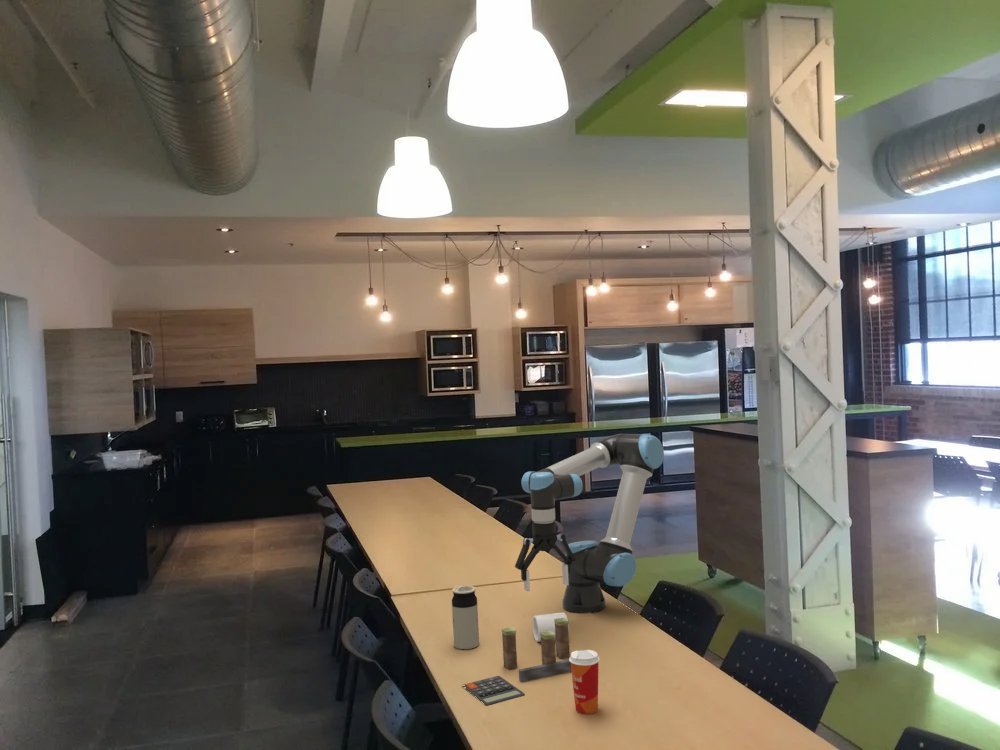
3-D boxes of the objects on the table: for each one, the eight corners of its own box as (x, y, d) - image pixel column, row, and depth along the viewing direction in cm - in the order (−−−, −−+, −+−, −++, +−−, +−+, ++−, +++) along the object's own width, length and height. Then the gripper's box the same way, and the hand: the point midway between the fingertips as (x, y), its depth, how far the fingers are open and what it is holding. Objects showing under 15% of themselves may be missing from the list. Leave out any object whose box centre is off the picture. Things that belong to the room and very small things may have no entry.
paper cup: (569, 704, 205) (566, 650, 205) (598, 701, 206) (595, 647, 205) (574, 717, 197) (571, 661, 197) (605, 714, 198) (602, 658, 197)
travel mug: (482, 642, 253) (480, 585, 253) (473, 651, 246) (471, 593, 245) (459, 640, 256) (456, 584, 256) (450, 649, 248) (447, 591, 248)
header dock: (565, 653, 240) (563, 617, 240) (585, 668, 228) (584, 630, 227) (503, 666, 232) (501, 628, 232) (520, 682, 220) (519, 642, 220)
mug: (569, 641, 250) (568, 616, 250) (539, 645, 248) (537, 620, 248) (559, 629, 262) (558, 605, 262) (529, 633, 260) (528, 608, 260)
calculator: (498, 674, 225) (525, 693, 212) (499, 678, 225) (525, 696, 212) (461, 684, 219) (486, 703, 206) (461, 687, 219) (486, 707, 206)
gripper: (573, 514, 262) (576, 578, 263) (503, 523, 253) (506, 590, 253) (583, 518, 255) (586, 584, 256) (512, 527, 246) (515, 596, 246)
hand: (546, 587), depth 254 cm, fingers open, 13 cm apart
